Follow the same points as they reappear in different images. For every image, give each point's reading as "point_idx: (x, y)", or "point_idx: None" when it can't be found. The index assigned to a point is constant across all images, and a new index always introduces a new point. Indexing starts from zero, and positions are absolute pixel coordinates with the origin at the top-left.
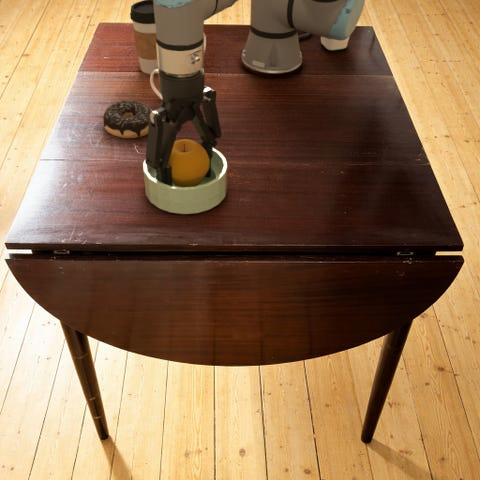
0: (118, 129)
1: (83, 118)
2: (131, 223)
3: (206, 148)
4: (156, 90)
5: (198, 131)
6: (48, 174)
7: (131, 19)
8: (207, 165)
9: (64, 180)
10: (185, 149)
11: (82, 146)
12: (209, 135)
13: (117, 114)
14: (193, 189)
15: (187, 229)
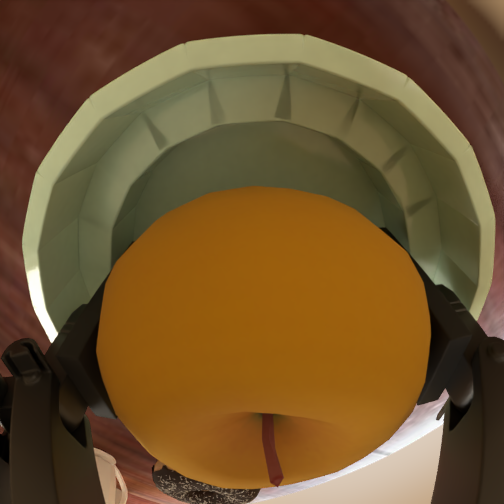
0: None
1: (260, 491)
2: (495, 225)
3: (85, 362)
4: (121, 483)
5: (94, 492)
6: (422, 431)
7: None
8: (158, 229)
9: (425, 415)
10: (244, 430)
11: None
12: (25, 431)
13: (228, 498)
14: (420, 92)
15: (419, 58)
